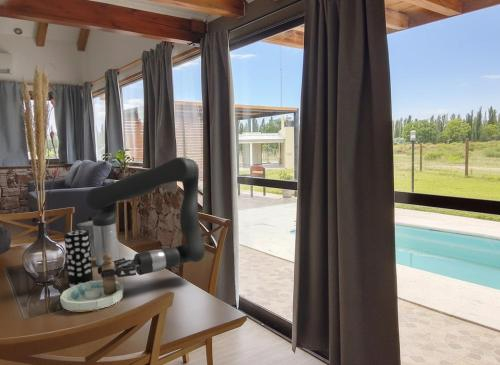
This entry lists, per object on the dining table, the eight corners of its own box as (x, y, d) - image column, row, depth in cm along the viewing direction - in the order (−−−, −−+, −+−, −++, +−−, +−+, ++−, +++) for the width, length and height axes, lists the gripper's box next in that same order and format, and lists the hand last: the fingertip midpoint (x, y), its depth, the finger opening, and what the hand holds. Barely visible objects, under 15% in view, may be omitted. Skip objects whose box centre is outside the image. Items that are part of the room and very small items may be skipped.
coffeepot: (74, 258, 178) (71, 219, 176) (84, 252, 188) (80, 215, 186) (107, 257, 178) (104, 218, 176) (115, 251, 187) (113, 214, 185)
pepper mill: (108, 289, 134) (105, 251, 132) (119, 290, 133) (115, 252, 131) (101, 294, 130) (97, 255, 129) (111, 295, 129) (108, 256, 128)
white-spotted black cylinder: (69, 283, 147) (65, 231, 145) (93, 280, 150) (89, 228, 148) (68, 291, 139) (63, 236, 137) (93, 287, 142) (88, 233, 140)
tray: (88, 286, 143) (87, 276, 143) (134, 291, 138) (133, 280, 137) (48, 309, 125) (47, 297, 125) (99, 315, 120) (98, 302, 119)
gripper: (142, 247, 144) (93, 256, 135) (156, 256, 132) (103, 267, 123) (144, 266, 145) (95, 277, 136) (158, 277, 133) (105, 290, 124)
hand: (99, 272), depth 129 cm, fingers closed on pepper mill, 4 cm apart
